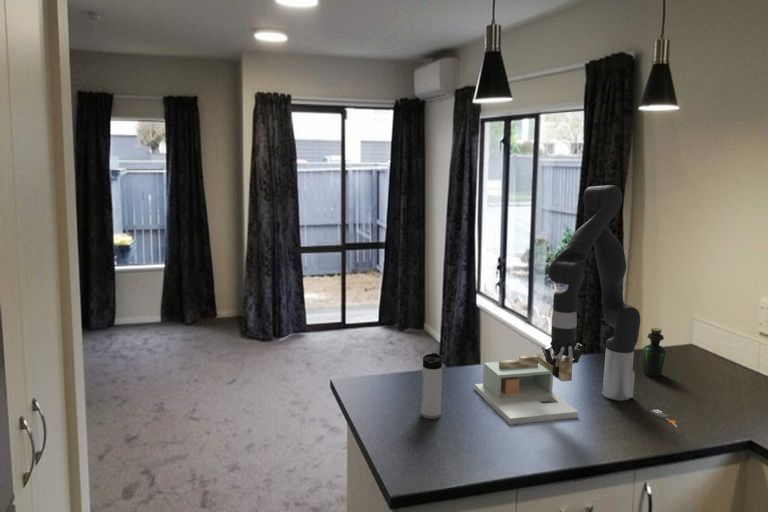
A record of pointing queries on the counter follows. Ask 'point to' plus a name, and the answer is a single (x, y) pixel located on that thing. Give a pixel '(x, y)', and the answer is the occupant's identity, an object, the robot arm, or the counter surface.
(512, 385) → the cube
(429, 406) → the travel mug
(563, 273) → the robot arm
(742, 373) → the counter surface
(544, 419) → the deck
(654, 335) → the potion bottle
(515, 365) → the stick
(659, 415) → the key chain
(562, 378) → the crook
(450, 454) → the counter surface
